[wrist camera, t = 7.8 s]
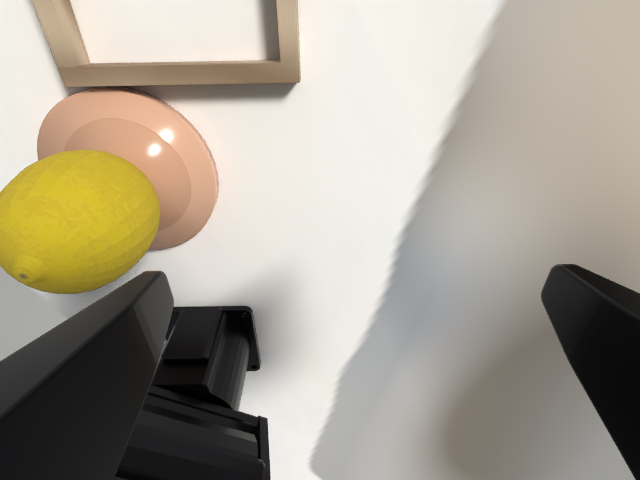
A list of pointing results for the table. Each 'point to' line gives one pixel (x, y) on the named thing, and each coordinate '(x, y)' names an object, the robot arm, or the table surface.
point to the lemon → (76, 221)
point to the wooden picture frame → (79, 72)
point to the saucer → (141, 151)
